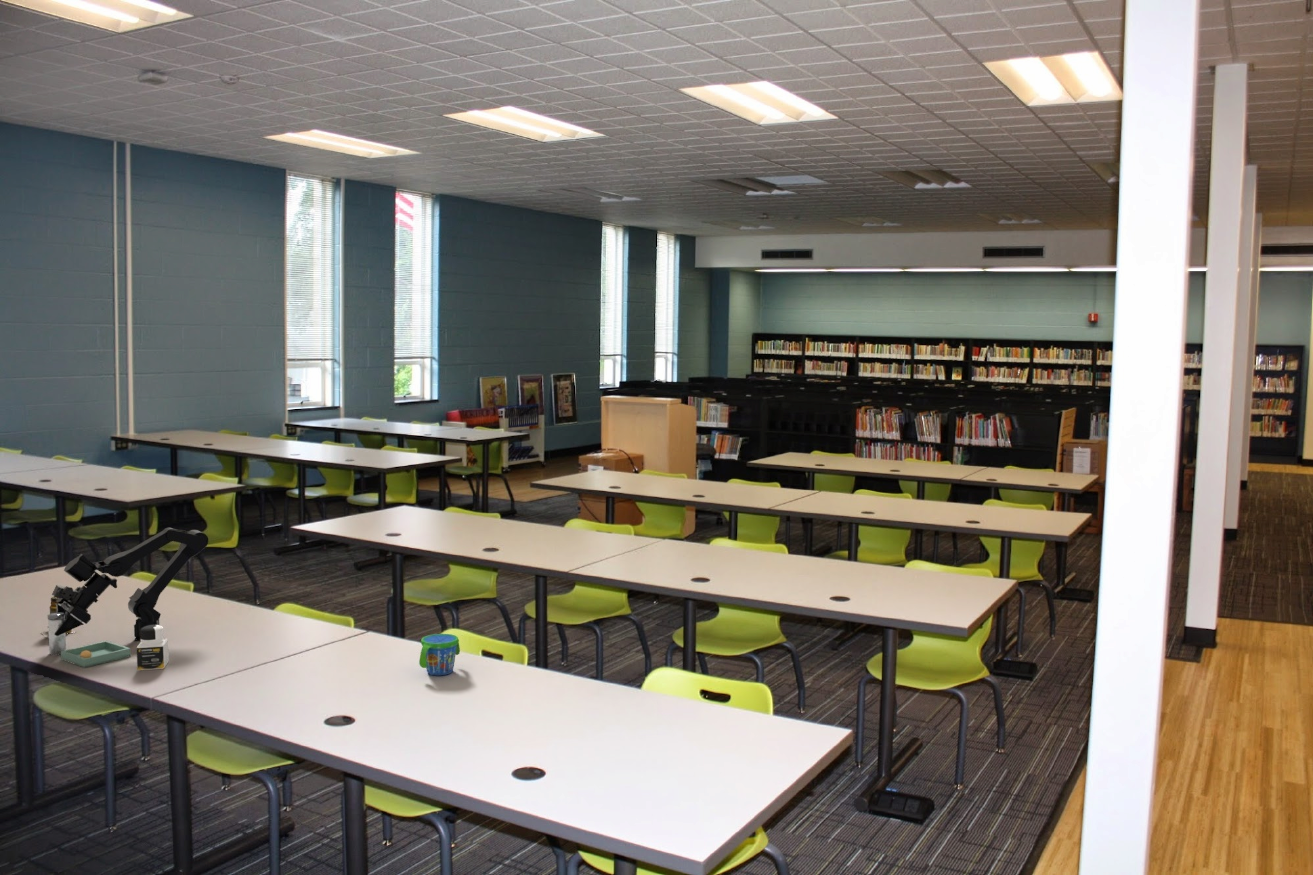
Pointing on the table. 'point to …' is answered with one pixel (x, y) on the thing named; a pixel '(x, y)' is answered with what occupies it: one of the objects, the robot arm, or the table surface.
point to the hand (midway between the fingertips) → (52, 631)
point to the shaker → (55, 641)
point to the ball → (86, 654)
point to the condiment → (53, 610)
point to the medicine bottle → (152, 648)
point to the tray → (96, 653)
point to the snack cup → (439, 653)
